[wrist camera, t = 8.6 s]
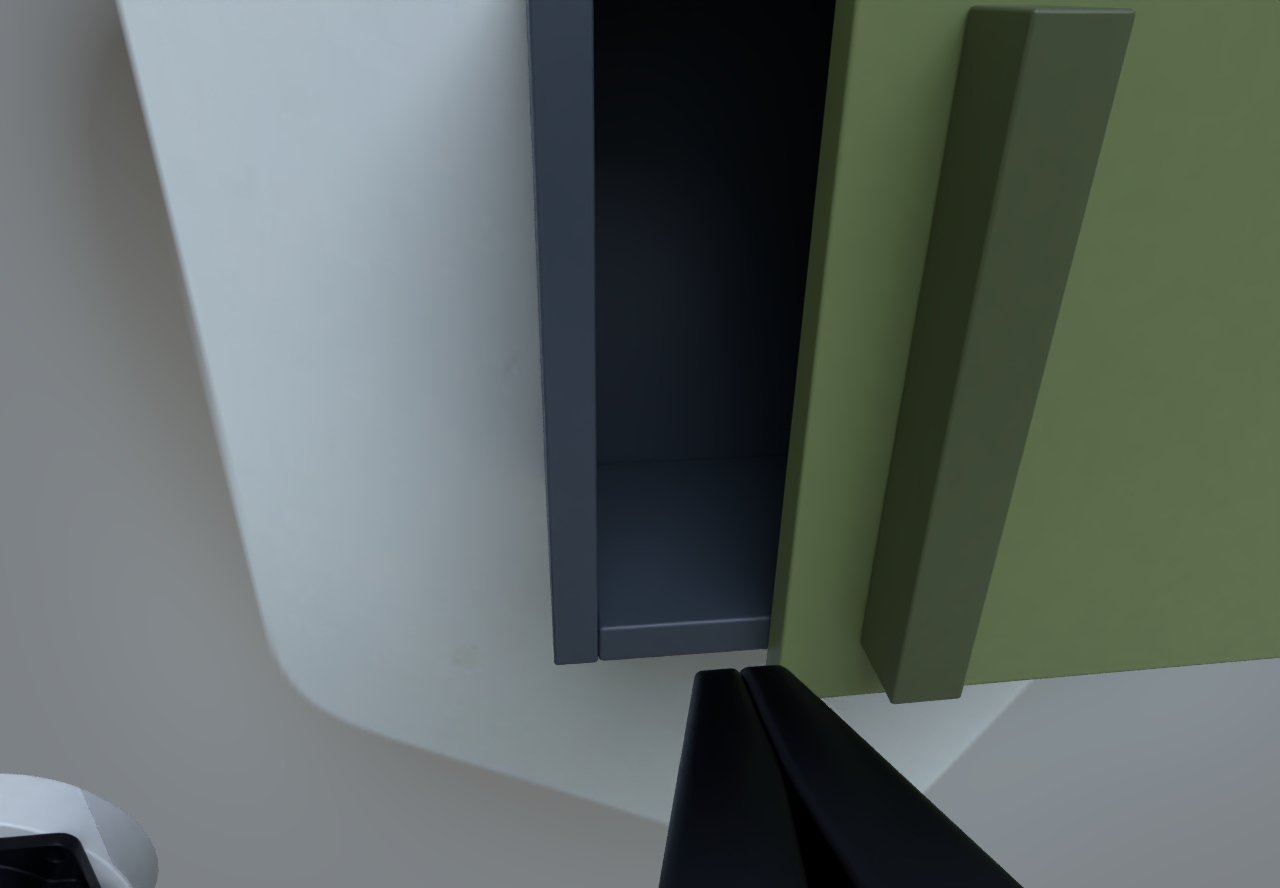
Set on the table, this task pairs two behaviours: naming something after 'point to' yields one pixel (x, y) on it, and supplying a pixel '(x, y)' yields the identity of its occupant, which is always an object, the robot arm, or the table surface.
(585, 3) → the bin
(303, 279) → the table surface
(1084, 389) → the bin lid
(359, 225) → the table surface
